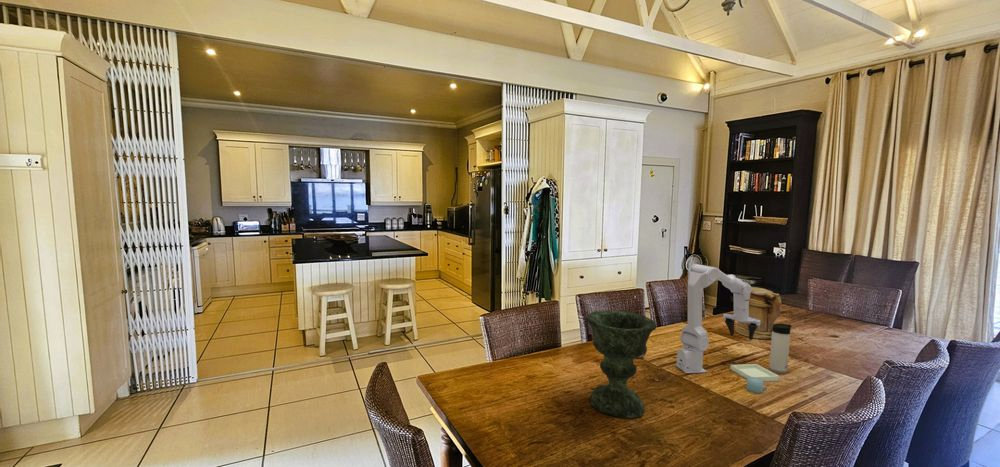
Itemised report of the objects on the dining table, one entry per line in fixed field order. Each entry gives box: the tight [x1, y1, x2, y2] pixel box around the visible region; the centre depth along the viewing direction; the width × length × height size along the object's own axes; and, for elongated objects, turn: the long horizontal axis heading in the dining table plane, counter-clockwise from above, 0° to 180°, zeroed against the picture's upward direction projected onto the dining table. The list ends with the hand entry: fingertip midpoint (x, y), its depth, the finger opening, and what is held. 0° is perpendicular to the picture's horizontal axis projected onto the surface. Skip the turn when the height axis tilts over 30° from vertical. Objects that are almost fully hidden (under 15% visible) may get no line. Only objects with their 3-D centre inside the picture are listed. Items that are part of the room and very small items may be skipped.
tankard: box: [734, 286, 783, 341], centre depth 214 cm, size 18×24×25 cm
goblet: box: [584, 310, 658, 419], centre depth 138 cm, size 22×22×30 cm
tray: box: [730, 363, 780, 383], centre depth 165 cm, size 12×12×2 cm
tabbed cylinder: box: [746, 377, 767, 394], centre depth 152 cm, size 7×5×4 cm
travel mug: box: [768, 323, 792, 375], centre depth 169 cm, size 6×7×20 cm
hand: (741, 337), depth 181 cm, fingers open, 7 cm apart
